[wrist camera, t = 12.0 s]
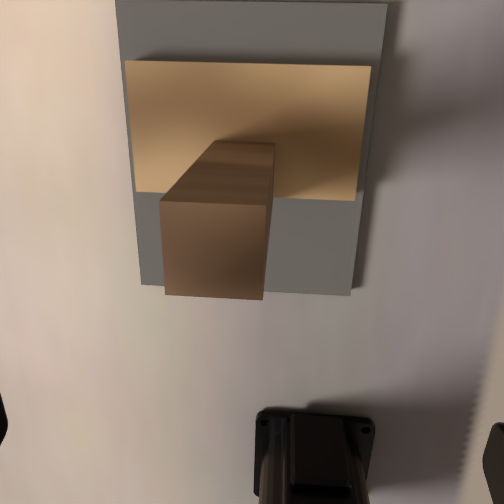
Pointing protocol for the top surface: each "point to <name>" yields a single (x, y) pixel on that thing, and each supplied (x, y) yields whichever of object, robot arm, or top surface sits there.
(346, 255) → the rest mat
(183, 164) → the wooden stamp block
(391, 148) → the top surface
